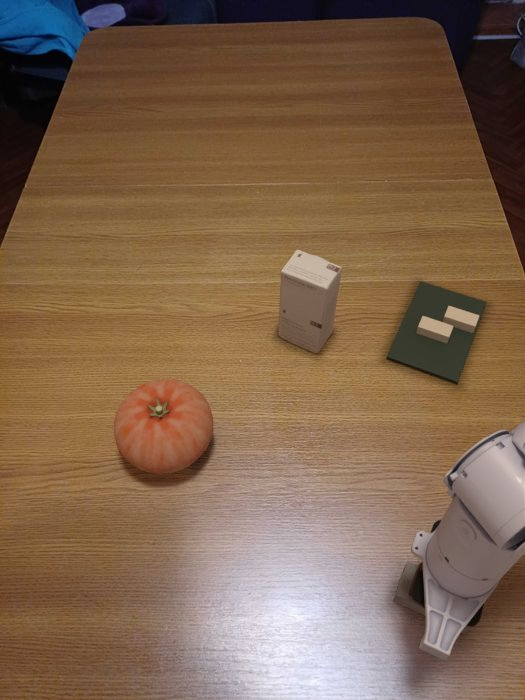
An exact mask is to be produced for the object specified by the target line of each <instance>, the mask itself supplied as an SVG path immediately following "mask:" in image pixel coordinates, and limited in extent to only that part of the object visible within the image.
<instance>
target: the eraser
mask: <svg viewBox="0 0 525 700" xmlns="http://www.w3.org/2000/svg"><path fill="white" fill-rule="evenodd" d="M418 570H420V571H422V572H423V563H422V561H421V562H419V564H418V565H417V564H415V563H413V562H411V561H409V560H407V562H406V563H405V565H404V567H403V570H402V572H401V576H400V579H399V582H398V585H397V587H396V591H395V594H394V597H393V600H392V601H393V602H395V603H397V604H399V605H401V606H404V607H406V608H408V609H410V610H412V611H414V612H416V613H419V614H420V615H423V616H425V609H424V608H423V606H422V605H421V604H419V603H417V602H416V601H414V600H413V599H412V587H413V584H414V581H415V578H416V575H417V572H418ZM471 630H472V627H469V626H465V628H464V629H463V630H462V631H461V633H460V634H463V635H467V634H468V633H469V632H470V631H471Z"/></svg>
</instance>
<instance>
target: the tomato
mask: <svg viewBox="0 0 525 700" xmlns="http://www.w3.org/2000/svg"><path fill="white" fill-rule="evenodd" d="M213 433H214V415H213V413H212V409H211V406H210V404H209V402H208V400H207V398H206V397H205V395H204V394H203V393H202V392H200V391H199V390H198V389H197V388H195V386H193V385H191V384H189V383H187V382H184V381H181V380H178V379H174V378H165V379H164V378H162V379H161V378H160V379H155V380H151V381H147V382H144V383H142V384H141V385H139V386H137V387H135V389H133V390H132V391H131V392H129V393H128V394H127V395H126V397H125V398H124V399H123V400H122V402H121V403H120V405H119V407H118V408H117V411H116V413H115V416H114V421H113V434H114V440H115V443H116V444H115V445H116V447H117V449H118V451H119V453H120V454H121V456H122V457H123V458H124V459H125V460H127V462H128V463H130V464H131V465H132V466H134V467H135V468H137V469H138V470H141V471H143V472H145V473H151V474H171V473H177V472H180V471H182V470H184V469H186V468H188V467H190V466H191V465H193V463H195V462H196V461H197V460H198V459H199V458H201V456H202V455H203V454H204V453H205V451H206V450H207V448H208V447H209V445H210V442H211V440H212V437H213Z"/></svg>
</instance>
